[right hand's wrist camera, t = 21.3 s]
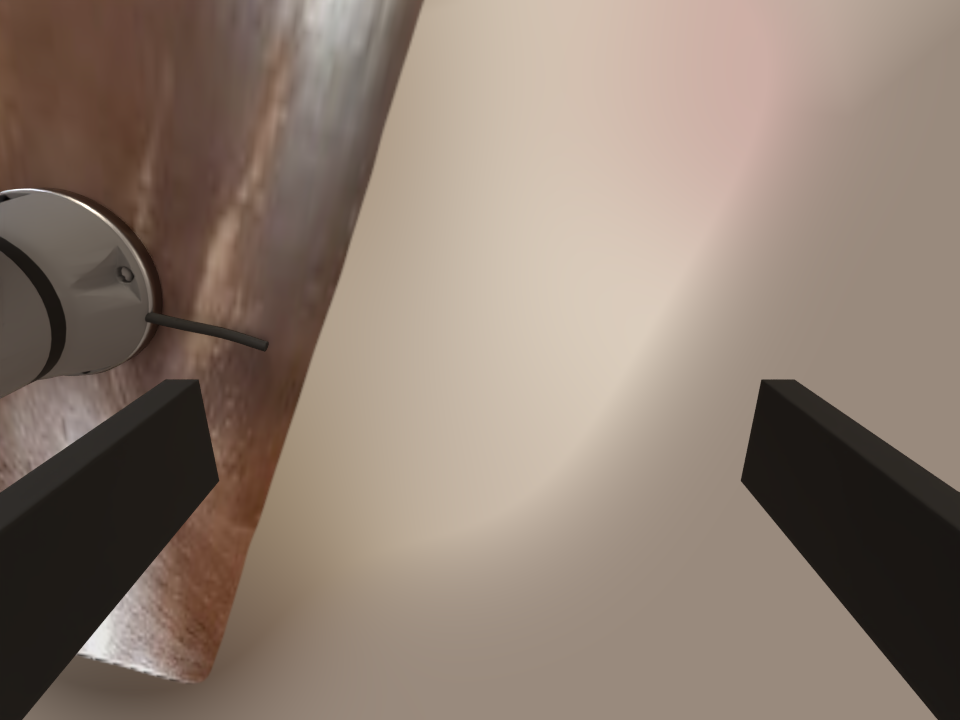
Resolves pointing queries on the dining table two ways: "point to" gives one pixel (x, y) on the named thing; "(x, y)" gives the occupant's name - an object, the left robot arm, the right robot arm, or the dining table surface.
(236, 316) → the dining table surface
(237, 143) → the dining table surface
